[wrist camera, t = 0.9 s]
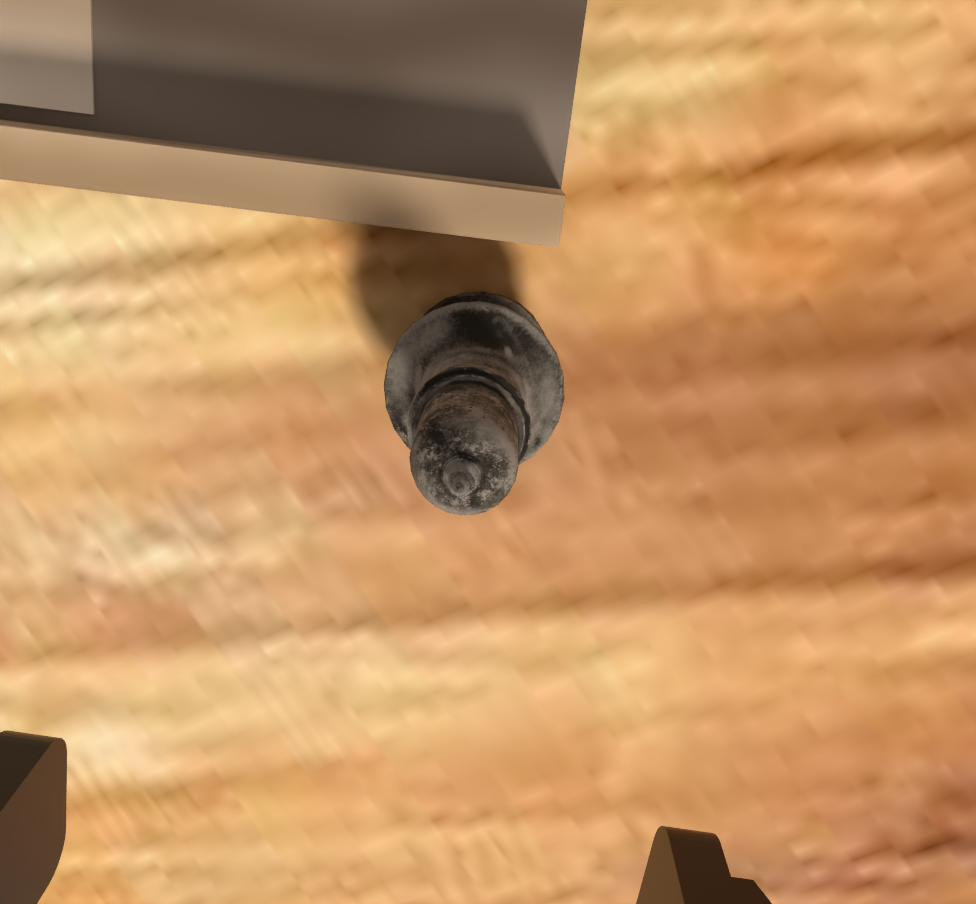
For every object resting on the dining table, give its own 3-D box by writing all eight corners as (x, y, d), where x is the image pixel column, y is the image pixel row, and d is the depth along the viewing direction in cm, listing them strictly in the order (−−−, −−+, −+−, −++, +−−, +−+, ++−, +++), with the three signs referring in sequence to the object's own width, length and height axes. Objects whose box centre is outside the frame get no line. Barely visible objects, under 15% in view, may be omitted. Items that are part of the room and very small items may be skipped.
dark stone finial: (441, 466, 34) (407, 633, 23) (367, 326, 33) (291, 434, 21) (585, 401, 33) (622, 543, 22) (517, 254, 32) (519, 327, 20)
